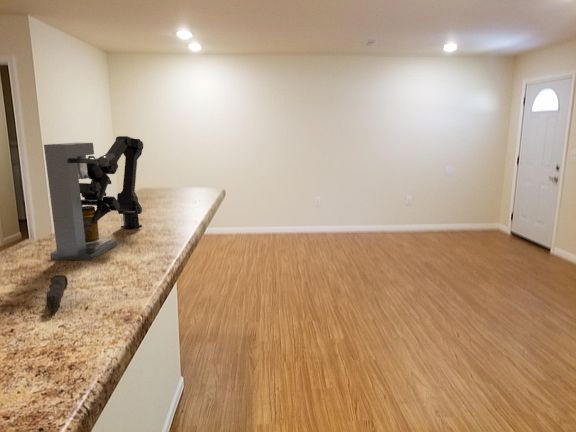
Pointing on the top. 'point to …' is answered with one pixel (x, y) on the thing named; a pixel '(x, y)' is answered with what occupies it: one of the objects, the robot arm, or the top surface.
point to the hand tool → (56, 292)
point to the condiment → (90, 225)
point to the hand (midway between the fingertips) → (84, 223)
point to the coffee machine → (71, 200)
